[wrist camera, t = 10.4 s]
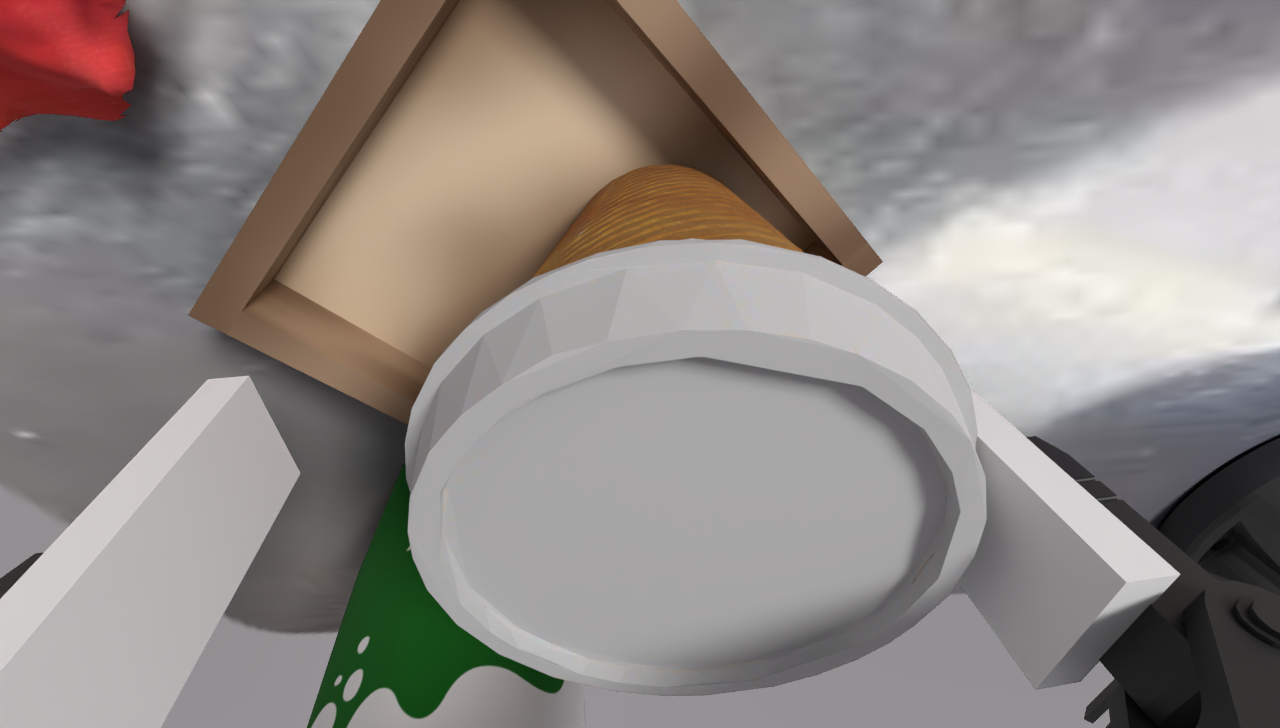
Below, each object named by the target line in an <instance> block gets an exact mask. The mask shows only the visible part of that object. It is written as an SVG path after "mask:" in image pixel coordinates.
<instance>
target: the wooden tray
mask: <svg viewBox="0 0 1280 728" xmlns="http://www.w3.org/2000/svg"><path fill="white" fill-rule="evenodd" d="M671 164H674V165H680V166H685V167H691V168H694V169H697V170H699V171H702V172H704V173H707V174H709V175H711V176H713V177H714V178H716V179H717V180H719V181H720V182H722V183H723V184H724V185H726V186H727V187H728V188H729V189H730V190H731V191H732V192H733V193H734V194H736V195H737V196H738V197H739V198H741V199H742V200H743V201H744V202H745V203H747V204H748V206H749V207H751V208H752V209H754V211H756V212H758V213H759V214H760V215H761V217H762V218H764V219H765V220H767V221H768V222H769V223H770V224H771V225H772V226H774V227H775V228H776V229H777V230H778V231H780V232H781V233H782V234H783V235H784V236H785V237H786V238H787V239H788V240H789V241H791V242H792V243H793V244H794V245H795V246H797V247H799V248H800V249H801V250H802V251H803V252H804V253H807V254H811V255H816V256H821V257H823V258H825V259H827V260H829V261H832V262H834V263H836V264H838V265H841V266H843V267H845V268H847V269H849V270H852V271H854V272H856V273H858V274H860V275H863V276H867V275H868V274H869V273H870V272H871V271H873V270H874V269H875V268H876V267H877V266H878V265H880V264H881V263H882V260H881V259H880V258H879V256H878V255H877V254H876V253H875V251H874V250H873V249H872V248H871V246H870V245H869V244H868V243H867V241H866V240H865V239H864V237H863V236H862V235H861V234H860V232H859V231H858V230H857V229H856V227H855V226H854V225H853V224H852V222H851V221H850V220H849V218H848V217H847V216H846V215H845V213H844V212H843V211H842V210H841V208H840V207H839V206H838V205H837V203H836V202H835V201H834V199H833V198H832V197H831V196H830V194H829V193H828V192H827V191H826V189H825V188H824V187H823V186H822V184H821V183H820V182H819V180H818V179H817V178H816V177H815V175H814V174H813V173H812V172H811V170H810V169H809V168H808V167H807V165H806V164H805V163H804V161H803V160H802V159H801V158H800V156H799V155H798V154H797V153H796V151H795V150H794V149H793V148H792V146H791V145H790V144H789V142H788V141H787V140H786V139H785V137H784V136H783V135H782V134H781V132H780V131H779V130H778V129H777V127H776V126H775V125H774V123H773V122H772V121H771V120H770V118H769V117H768V116H767V115H766V113H765V112H764V111H763V109H762V108H761V107H760V106H759V104H758V103H757V102H756V101H755V99H754V98H753V97H752V96H751V94H750V93H749V92H748V90H747V89H746V88H745V87H744V85H743V84H742V83H741V82H740V80H739V79H738V78H737V77H736V75H735V74H734V73H733V71H732V70H731V69H730V68H729V66H728V65H727V64H726V63H725V61H724V60H723V59H722V58H721V56H720V55H719V54H718V52H717V51H716V50H715V49H714V47H713V46H712V45H711V44H710V42H709V41H708V40H707V39H706V37H705V36H704V35H703V33H702V32H701V31H700V30H699V28H698V27H697V26H696V25H695V23H694V22H693V21H692V20H691V18H690V17H689V16H688V14H687V13H686V12H685V11H684V9H683V8H682V7H681V6H680V4H679V3H678V2H677V1H676V0H381V1H380V3H379V4H378V6H377V7H376V9H375V11H374V12H373V14H372V16H371V17H370V19H369V21H368V22H367V24H366V25H365V27H364V29H363V30H362V32H361V34H360V35H359V37H358V39H357V40H356V42H355V43H354V45H353V47H352V48H351V50H350V52H349V53H348V55H347V56H346V58H345V60H344V61H343V63H342V65H341V66H340V68H339V70H338V71H337V73H336V74H335V76H334V78H333V79H332V81H331V83H330V84H329V86H328V88H327V89H326V91H325V92H324V94H323V96H322V97H321V99H320V101H319V102H318V104H317V106H316V107H315V109H314V110H313V112H312V114H311V115H310V117H309V119H308V120H307V122H306V123H305V125H304V127H303V128H302V130H301V132H300V133H299V135H298V137H297V138H296V140H295V141H294V143H293V145H292V146H291V148H290V150H289V151H288V153H287V155H286V156H285V158H284V159H283V161H282V163H281V164H280V166H279V168H278V169H277V171H276V173H275V174H274V176H273V177H272V179H271V181H270V182H269V184H268V186H267V187H266V189H265V190H264V192H263V194H262V195H261V197H260V199H259V200H258V202H257V204H256V205H255V207H254V208H253V210H252V212H251V213H250V215H249V217H248V218H247V220H246V222H245V223H244V225H243V226H242V228H241V230H240V231H239V233H238V235H237V236H236V238H235V240H234V241H233V243H232V244H231V246H230V248H229V249H228V251H227V253H226V254H225V256H224V257H223V259H222V261H221V262H220V264H219V266H218V267H217V269H216V271H215V272H214V274H213V275H212V277H211V279H210V280H209V282H208V284H207V285H206V287H205V289H204V290H203V292H202V293H201V295H200V297H199V298H198V300H197V302H196V303H195V305H194V307H193V308H192V310H191V311H190V313H189V315H188V316H190V317H192V318H194V319H196V320H198V321H200V322H202V323H204V324H207V325H209V326H211V327H213V328H215V329H217V330H219V331H221V332H223V333H225V334H227V335H229V336H231V337H233V338H235V339H237V340H239V341H241V342H243V343H245V344H247V345H249V346H251V347H253V348H255V349H257V350H259V351H261V352H263V353H265V354H267V355H269V356H271V357H273V358H275V359H277V360H279V361H281V362H283V363H285V364H287V365H289V366H291V367H293V368H295V369H297V370H299V371H301V372H303V373H305V374H307V375H309V376H311V377H313V378H315V379H317V380H319V381H321V382H323V383H325V384H327V385H329V386H331V387H333V388H335V389H337V390H339V391H341V392H343V393H345V394H347V395H349V396H351V397H353V398H355V399H357V400H359V401H361V402H363V403H365V404H367V405H369V406H371V407H373V408H375V409H377V410H379V411H381V412H383V413H385V414H387V415H389V416H391V417H393V418H395V419H397V420H399V421H401V422H403V423H405V424H407V425H409V420H410V415H411V410H412V407H413V405H414V403H415V401H416V399H417V397H418V395H419V393H420V391H421V389H422V387H423V385H424V383H425V381H426V379H427V377H428V375H429V373H430V371H431V369H432V367H433V365H434V363H435V362H436V361H437V360H438V358H439V357H440V356H441V355H442V353H443V352H444V351H445V350H446V348H447V347H448V346H449V345H450V344H451V343H452V342H453V341H454V340H455V339H456V338H457V337H458V336H459V335H460V334H461V333H462V331H463V330H464V329H465V328H466V327H467V326H468V325H469V324H470V323H471V322H472V321H473V320H474V319H475V318H476V317H477V316H478V315H479V314H480V313H481V312H483V311H484V310H486V309H487V308H489V307H490V306H492V305H493V304H495V303H496V302H498V301H499V300H501V299H502V298H504V297H505V296H507V295H508V294H510V293H511V292H513V291H514V290H516V289H517V288H519V287H520V286H522V285H523V284H525V283H526V282H528V281H529V280H530V279H531V278H532V276H533V275H534V274H535V272H536V271H537V270H538V269H539V267H540V266H541V265H542V263H543V262H544V261H545V260H546V258H547V257H548V256H549V254H550V253H551V252H552V251H553V249H554V248H555V246H556V245H557V244H558V242H559V241H560V240H561V239H562V237H563V236H564V235H565V234H566V232H567V231H568V230H569V228H570V227H571V226H572V225H573V223H574V222H575V220H576V219H577V218H578V217H579V215H580V214H581V213H582V211H583V210H584V209H585V207H586V206H587V204H588V203H589V202H590V200H591V199H592V198H593V197H594V196H595V195H596V194H597V193H598V191H600V190H601V189H602V188H604V187H605V186H606V185H607V184H609V183H610V182H611V181H612V180H614V179H616V178H618V177H620V176H622V175H624V174H626V173H628V172H630V171H632V170H634V169H638V168H642V167H646V166H653V165H671Z"/></svg>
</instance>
